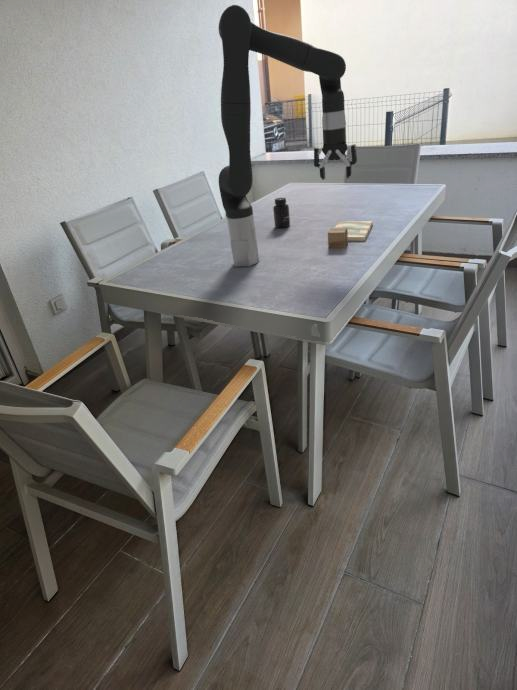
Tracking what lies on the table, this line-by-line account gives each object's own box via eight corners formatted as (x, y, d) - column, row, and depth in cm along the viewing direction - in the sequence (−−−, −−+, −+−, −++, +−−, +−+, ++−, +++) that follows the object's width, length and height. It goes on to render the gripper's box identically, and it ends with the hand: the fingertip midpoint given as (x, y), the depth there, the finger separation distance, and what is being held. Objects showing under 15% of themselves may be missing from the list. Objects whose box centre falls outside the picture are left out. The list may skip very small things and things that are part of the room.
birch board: (364, 240, 166) (364, 236, 165) (328, 241, 171) (327, 237, 170) (372, 224, 181) (372, 220, 181) (338, 225, 187) (338, 221, 186)
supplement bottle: (289, 228, 192) (286, 200, 186) (273, 229, 194) (270, 201, 187) (291, 223, 198) (288, 196, 192) (276, 224, 199) (273, 197, 193)
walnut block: (344, 248, 162) (344, 232, 159) (328, 248, 164) (327, 232, 161) (347, 243, 166) (347, 227, 163) (332, 243, 169) (331, 227, 166)
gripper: (310, 130, 144) (313, 182, 153) (353, 126, 139) (354, 179, 148) (315, 127, 150) (318, 177, 159) (357, 123, 145) (358, 174, 153)
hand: (335, 178), depth 153 cm, fingers open, 8 cm apart
